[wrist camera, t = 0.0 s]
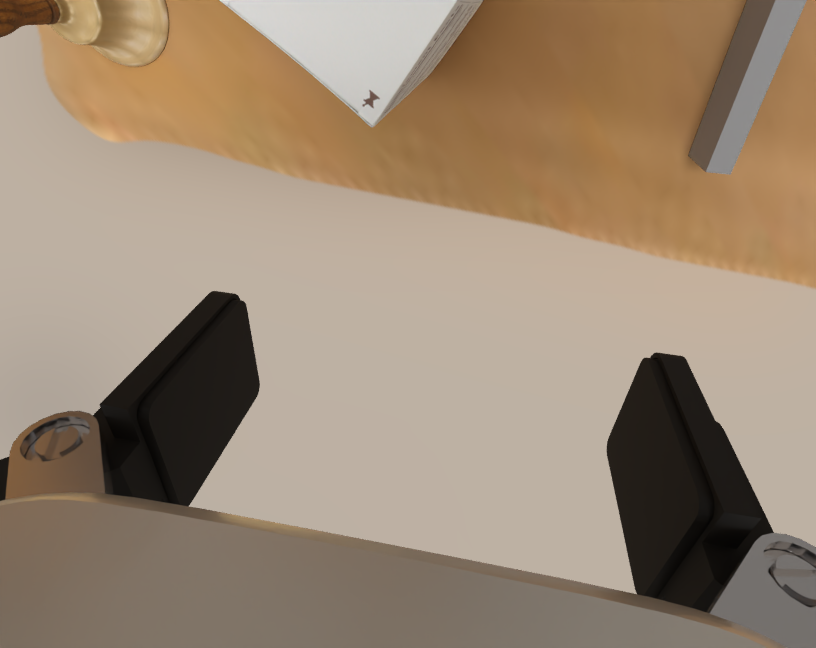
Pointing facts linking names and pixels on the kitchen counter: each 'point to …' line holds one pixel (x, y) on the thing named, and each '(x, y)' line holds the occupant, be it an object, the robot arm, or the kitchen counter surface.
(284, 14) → the supplement box
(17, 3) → the hand bell
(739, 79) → the gray rectangular bar
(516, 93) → the kitchen counter surface
